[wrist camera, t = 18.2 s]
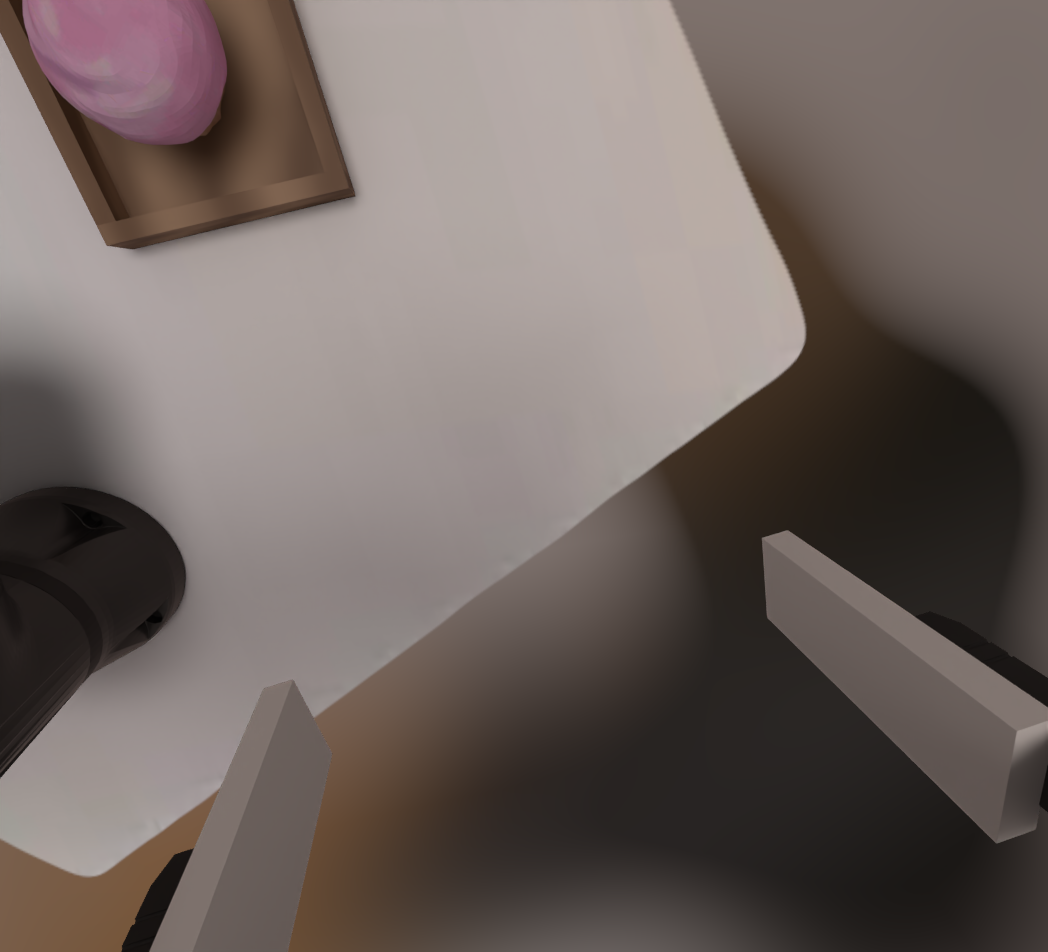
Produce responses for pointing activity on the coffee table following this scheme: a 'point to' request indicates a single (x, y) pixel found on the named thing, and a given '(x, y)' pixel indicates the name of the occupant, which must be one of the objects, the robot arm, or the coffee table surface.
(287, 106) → the serving tray
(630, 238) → the coffee table surface
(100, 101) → the cupcake
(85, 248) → the coffee table surface
